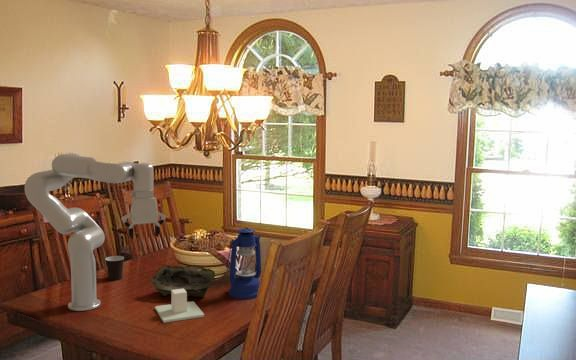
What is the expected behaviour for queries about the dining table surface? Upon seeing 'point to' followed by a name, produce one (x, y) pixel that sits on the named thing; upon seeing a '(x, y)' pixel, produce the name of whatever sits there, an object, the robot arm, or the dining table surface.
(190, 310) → the sage mat
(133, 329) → the dining table surface
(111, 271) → the coffee mug
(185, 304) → the cream block
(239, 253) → the lantern
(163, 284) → the hollow geode rock
